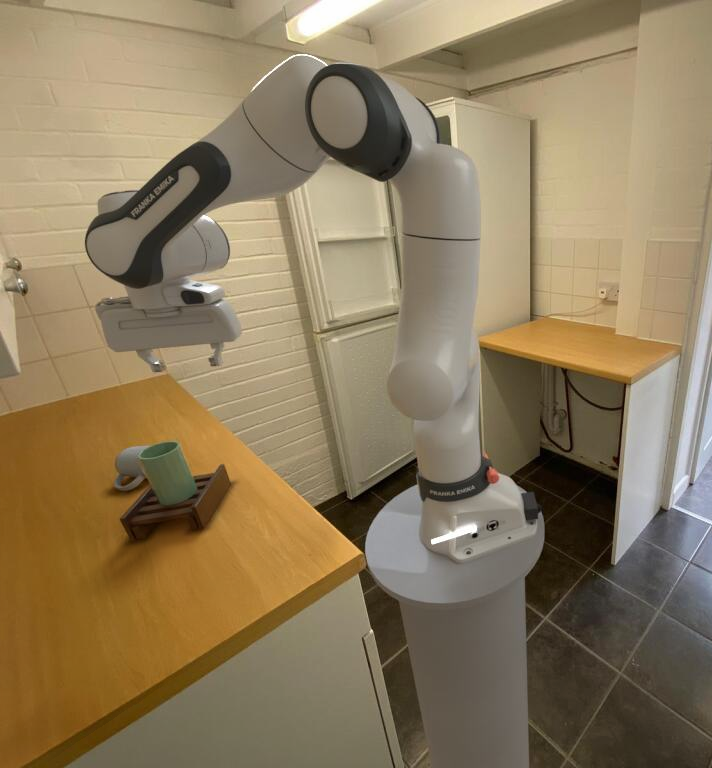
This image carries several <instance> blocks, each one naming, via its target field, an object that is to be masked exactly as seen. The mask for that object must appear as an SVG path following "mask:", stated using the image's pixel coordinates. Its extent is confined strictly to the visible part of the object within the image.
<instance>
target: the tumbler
mask: <svg viewBox="0 0 712 768" xmlns="http://www.w3.org/2000/svg"><path fill="white" fill-rule="evenodd" d="M148 446H149V447H147V448H146V449H144V450H142V451H141V452H140V453H139V454H138V459H139V461H140V464H141V466H142V468H143V470H144V472H145V474H146V477H147V478H146V479H147V481H148V484H149V485H151V487H152V489H153V492H154V494H155V496H156V498H157V500H158V502H159V503H160V504H162V505H172V504H176V503H179V502H182V501H184V500H186V499H188V498H190V497H191V496H193V495H194V494H195V493H196V492H197V490H198V487H197V484H196V482H195V479H194V477H193V476H194V474H193V472H192V469H191V467H190V464H189V462H188V460H187V457H186V454H185V452H184V450H183V447H182V445H181V443H180V442H179V441H177V440H168V441H161V442H157V443H155V444H152V445H148Z"/></svg>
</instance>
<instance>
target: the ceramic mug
mask: <svg viewBox="0 0 712 768" xmlns="http://www.w3.org/2000/svg"><path fill="white" fill-rule="evenodd" d="M149 446H150V445H137V446H136V445H134V446H131V447H127V448H125V449H123V450H121V451H120V452H119V453H118V454H117V456H116V458H115V460H114V461H115V462H114V466H115V470H116V471H117V473H118V475H116V478H114V481H113V486H114V488H115V489H117V490H119V491H121V492H128V491H131V490H133V489H135V488H136V487H138V486H139V485H140V484H141V483H142V482H143V481H144V480H145V479H147V477H146V474H145V472H144V470H143V468H142V466H141V464H140V461H139V459H138V454H139V453H140V452H141V451H142V450H144V449H146V448H147V447H149ZM126 477H127V478H134V479H133V480H132V481H131V482H130V483H128V484H126V485H124V486H122V485H121V484H122V482H123V481H124V479H125V478H126Z"/></svg>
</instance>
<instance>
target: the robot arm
mask: <svg viewBox="0 0 712 768" xmlns="http://www.w3.org/2000/svg"><path fill="white" fill-rule="evenodd" d="M442 136H443V135H442V131H441V127H440V124H439V122H438V120H437V117H436V116H435V115H434V113H433V111H432V110H431V109H430V108H429V106H428V105H427V104H426V103H425V102H423V101H422V100H421V99H419V98H418V97H416V96H414V95H413V94H412V93H411V92H409V91H408V90H407V89H406V88H405V87H404V86H402V85H401V84H400V83H399V82H396V81H394V80H393V79H391V78H389V77H387V76H384V75H382V74H380V73H377V72H375V71H374V70H372V69H371V68H369V67H367V66H364V65H361V64H357V63H351V62H336V63H332V64H329V65H327V63H325V62H324V61H322V60H321V59H318V58H317V57H315V56H313V55H310V54H309V55H308V54H304V53H303V54H301V53H299V54H296V55H292V56H290V57H289V58H287V59H286V60H284V61H283V62H282V63H280V64H279V65H277V66H276V67H275V68H274V69H272V71H270V72H269V73H267V74H266V75H265V76H264V77H263V78H262V79H261V80H260V81H259V82H258V83H257V84H256V85H255V86H254V87H253V88H252V89H251V90H250V92H248V94H247V95H246V96H245V97H244V99H243V100H242V101H241V102H240V104H239V105H237V107H236V108H235V109H234V110H233V111H232V112H231V113H230V114H229V115H228V116H227V117H226V118H224V120H223V121H222V122H221V123H219V125H217V126H216V127H215V128H213V130H211V131H210V132H208V133H207V134H206V135H204V136H202V137H201V138H200V139H198V140H197V141H196V142H194V143H192V144H191V145H190V146H188V147H187V148H185V149H183V150H181V152H179V153H178V154H176V155H175V156H174V157H172V159H170V160H169V161H168V162H167V163H166V164H165V165H163V166H162V167H161V168H160V169H159V170H158V171H157V172H156V173H155V174H154V175H153V176H152V177H151V178H150V179H149V180H148V181H147V182H146V183H144V185H142V187H140V189H138V190H137V189H135V190H134V189H132V190H131V189H130V190H124V191H123V190H122V191H114V192H109V193H107V194H104V195H102V196H101V197H100V198H98V199H97V214H98V215H96V216H95V217H94V218H93V220H92V221H91V222H90V223H89V225H88V227H87V230H86V233H85V237H84V248H85V252H86V255H87V257H88V259H89V260H90V262H91V264H92V265H93V266H94V267H95V268H96V269H97V270H98V271H99V272H101V273H102V274H103V275H105V276H106V277H108V278H110V280H113V281H115V282H117V283H119V284H121V285H123V287H124V289H125V290H126V294H127V296H119V297H105V298H102V299H101V300H100V301H98V302H97V303H96V305H95V307H94V309H95V310H94V311H95V312H96V315H97V317H98V319H99V321H100V323H101V329H102V332H103V337H104V339H105V342H106V345H107V347H108V348H109V349H110V350H112V351H114V352H115V353H125V352H135V351H136V354H137V357H139V358H140V359H141V360H142V361H144V362H145V363H146V364H148V365H149V367H150V369H151V371H152V373H155V374H156V373H163V372H164V371H166V370H167V366H166V363H165V360H163V359H161V360H159V359H158V358H157V357H155V356H154V355H153V354H152V353H153V352H154V350H156V349H167V348H168V349H169V348H179V347H190V346H200V345H201V346H203V345H210V348H211V350H214V352H213V355H210V356H209V357H208V358H207V359H208V362H209V365H210V367H220V366H222V365H223V364H224V361H223V358H222V353H223V350H224V347H225V343H234V342H236V341H237V340H238V339H239V338H240V337H241V336H242V334H243V329H242V325H241V323H240V320H239V318H238V315H237V313H236V310H235V308H234V307H233V305H232V304H231V303H230V302H229V301H228V300H226V299H224V297H225V295H226V293H225V289H224V288H223V287H222V286H221V285H217V284H212V283H207V282H203V281H198V280H194V279H190V277H195V276H199V275H204V274H210V273H214V272H216V271H219V270H221V269H223V268H225V266H226V265H227V264H228V263H229V260H230V256H231V246H230V242H229V238H228V236H227V234H226V233H225V231H224V229H223V228H222V227H221V225H220V224H219V223H218V222H216V220H214V218H211V217H210V216H208V215H207V214H208V213H210V212H212V211H214V210H216V209H219V208H223V207H225V206H229V205H234V204H235V205H236V204H238V203H239V204H240V203H245V202H252V201H259V200H267V199H268V200H269V199H274V198H276V199H277V198H280V197H281V198H282V197H284V196H286V195H288V194H291V193H292V192H294V191H295V190H298V188H300V187H302V186H303V185H304V184H306V183H307V182H308V181H309V180H310V179H311V178H312V177H313V176H314V175H316V174H317V172H318V171H319V170H320V169H321V168H322V167H323V166H324V165H325V164H326V163H327V162H328V161H329V160H330V158H331V159H333V160H334V161H336V162H337V163H339V164H341V165H342V166H344V167H347V168H348V169H349V170H352V171H355V172H357V173H360V174H362V175H364V176H365V177H368V178H371V179H373V180H375V181H377V182H379V183H385V182H387V181H388V182H389V183H390V184H391V185H392V186H393V187H394V189H395V191H396V193H397V196H398V200H399V206H400V207H399V208H400V254H401V255H400V256H401V257H400V259H401V260H400V261H401V291H400V292H401V293H400V301H399V302H400V303H399V309H398V314H397V315H398V316H397V320H396V321H397V322H396V329H395V336H394V343H393V345H394V346H393V353H392V359H391V360H392V361H391V365H390V368H389V372H388V376H387V379H386V393H387V396H388V398H389V401H390V403H391V404H392V405H393V407H394V408H395V409H396V410H397V411H398V412H399V413H401V415H403V416H405V417H407V418H409V419H412V420H414V423H413V430H412V431H413V440H414V446H415V452H416V453H415V454H416V460H417V466H416V474H415V475H416V476H415V477H416V483H417V484H418V491H419V495H420V497H421V500H422V511H421V521H420V526H419V537H420V540H421V542H422V543H423V544H424V545H425V546H426V547H427V548H428V549H430V550H432V551H434V552H436V553H439V554H443V555H446V556H449V557H450V558H451V559H452V560H453V561H455V562H456V563H459V564H465V563H467V562H470V561H473V560H475V559H478V558H481V557H483V556H486V555H489V554H491V553H494V552H496V551H499V550H502V549H504V548H507V547H510V546H512V545H515V544H518V543H520V542H523V541H526V540H528V539H531V538H533V537H534V536H535V535H536V532H537V519H538V514H539V513H540V512H541V513H542V506H541V504H539V503H537V499H536V495H535V492H534V491H530V492H529V491H527V493H522V492H520V491H519V489H518V487H517V486H518V485H517V484H516V482H515V481H514V480H513V479H512V478H511V477H510V476H508V475H505V474H503V473H500V472H498V471H497V469H496V468H493V463H492V460H491V459H490V458H489V457H488V456H489V455H488V454H487V453H486V452H485V451H484V452H483V455H482V454H481V441H480V430H479V429H480V427H479V424H480V423H479V417H480V416H479V415H480V414H479V413H480V390H481V389H480V384H481V383H480V382H481V381H480V380H481V378H480V377H481V376H480V373H481V372H480V371H481V369H480V367H481V366H480V363H481V361H480V359H481V358H480V357H481V356H480V340H479V337H478V336H479V335H478V333H477V332H476V330H475V328H474V327H473V325H474V317H475V311H476V305H477V300H478V294H479V279H480V277H479V274H480V259H481V256H480V255H481V238H482V206H481V193H480V182H479V176H478V170H477V167H476V164H475V162H474V161H473V159H472V158H471V157H470V156H469V155H468V154H467V153H465V152H464V151H463V150H461V149H459V148H457V147H455V146H452V145H450V144H446V143H445V144H444V143H443V137H442ZM417 484H416V485H417ZM531 524H532V525H531ZM467 554H469V555H467Z"/></svg>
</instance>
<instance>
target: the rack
mask: <svg viewBox="0 0 712 768" xmlns="http://www.w3.org/2000/svg"><path fill="white" fill-rule="evenodd" d="M193 477H194V479H195V482H196V484H197V487H198V490H197V492H196V493H195V494H194V495H193V496H191V497H190V498H188V499H186V500H184V501H182V502H179V503H176V504H172V505H162V504H160V503H159V502H158V500H157V498H156V496H155V494H154V492H153V489H152V487H151V485H150V484H149V485H148V486H147V487H146V489H144V491H143V492H142V493H141V494H140V496H139V497H137V499H136V500H135V501H134V502H133V503H132V504H131V506H130V507H129V508H128V509H127V510H126V511H125V512H124V513H123V515H121V517H119V521H120V523H121V525H122V527H123V529H124V531H125V533H126V535H127V537H128V539H129V541H130V542H135V541H141V540H145V539H146V538H147V537H148V535H150V532H152V530H153V529H154V527H155V526H156V525H157V524H158V523H159V522H165V521H170V520H176V519H181V518H182V519H183V518H186V523H187V524H188V527H189V529H190V531H191V532H193V531H198V530H204V529H206V527H207V525H208V523H209V521H210V520H211V518H212V516H213V515H214V514H215V511H216V510H217V508H218V507H219V505H220V503H221V501H222V500H223V498H224V497H225V495H226V493H227V492H228V490H229V488H230V486H231V485H232V482H231V480H230V477H229V474H228V471H227V469H226V466H225V463H222V464H219V466H218V467H217V468H216V470H215V471H214V472H211V473H205V474H198V475H193Z"/></svg>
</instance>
